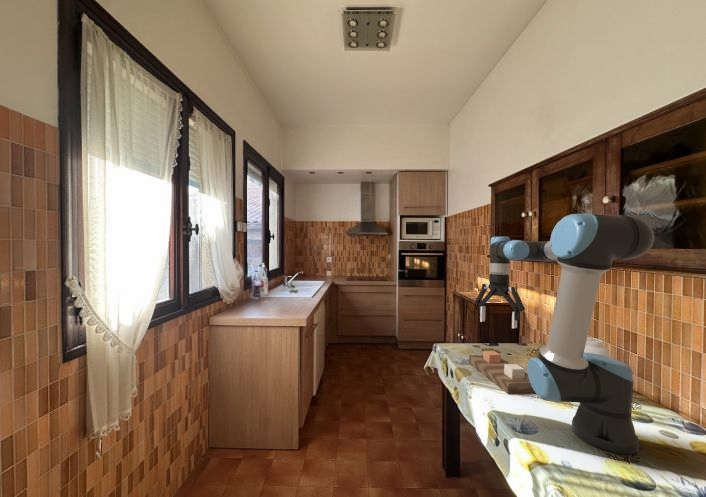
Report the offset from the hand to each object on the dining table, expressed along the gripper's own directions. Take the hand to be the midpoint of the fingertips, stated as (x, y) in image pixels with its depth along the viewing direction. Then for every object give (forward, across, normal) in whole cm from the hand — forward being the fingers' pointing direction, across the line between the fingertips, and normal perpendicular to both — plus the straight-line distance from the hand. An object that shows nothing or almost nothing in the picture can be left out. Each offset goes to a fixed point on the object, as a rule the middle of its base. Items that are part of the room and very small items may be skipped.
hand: (497, 324), depth 129 cm
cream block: (+20, -7, 0) cm, 21 cm away
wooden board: (+23, 0, -4) cm, 23 cm away
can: (+23, -25, -24) cm, 41 cm away
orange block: (+19, +7, -8) cm, 22 cm away
